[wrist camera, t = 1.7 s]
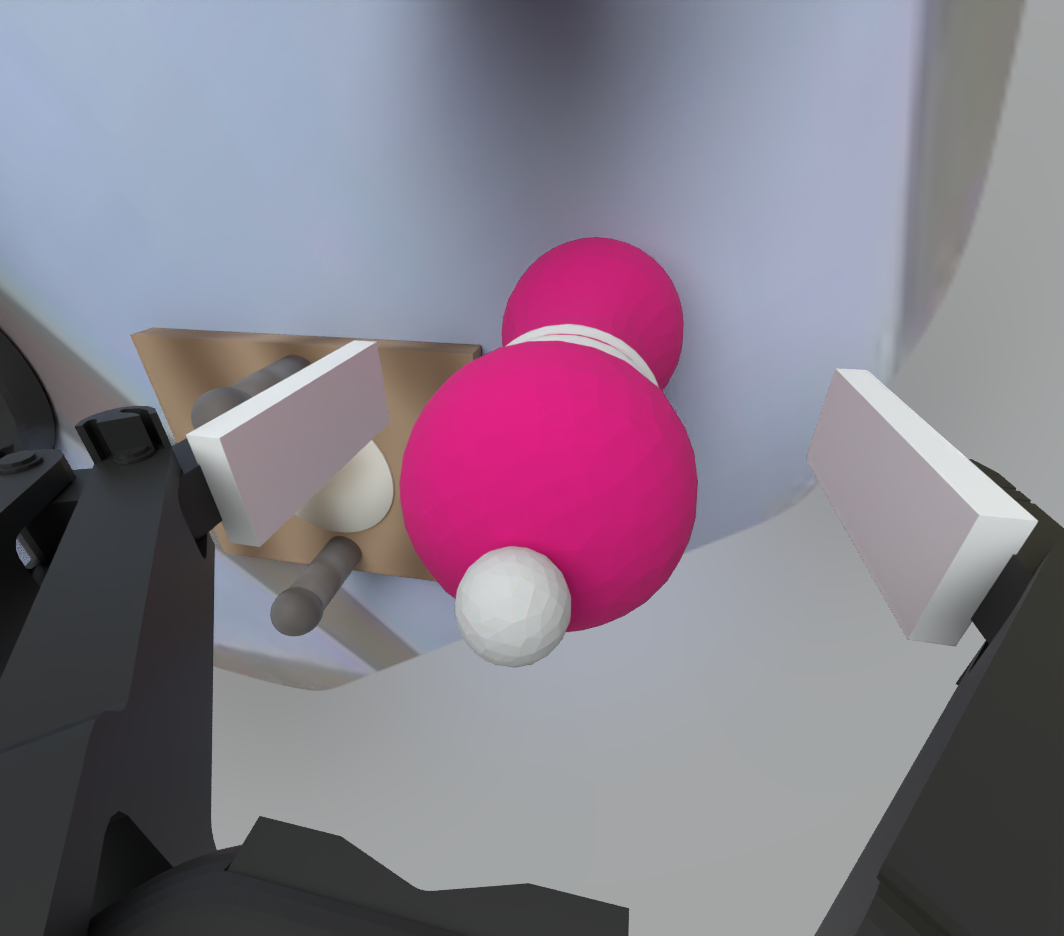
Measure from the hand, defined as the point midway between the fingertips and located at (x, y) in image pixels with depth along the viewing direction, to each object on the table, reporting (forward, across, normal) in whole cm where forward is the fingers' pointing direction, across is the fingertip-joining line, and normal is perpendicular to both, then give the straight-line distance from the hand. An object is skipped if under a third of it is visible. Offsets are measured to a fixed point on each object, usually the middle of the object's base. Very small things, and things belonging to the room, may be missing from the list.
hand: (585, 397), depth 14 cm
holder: (+10, -16, -10) cm, 22 cm away
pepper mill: (+11, 0, 0) cm, 11 cm away
